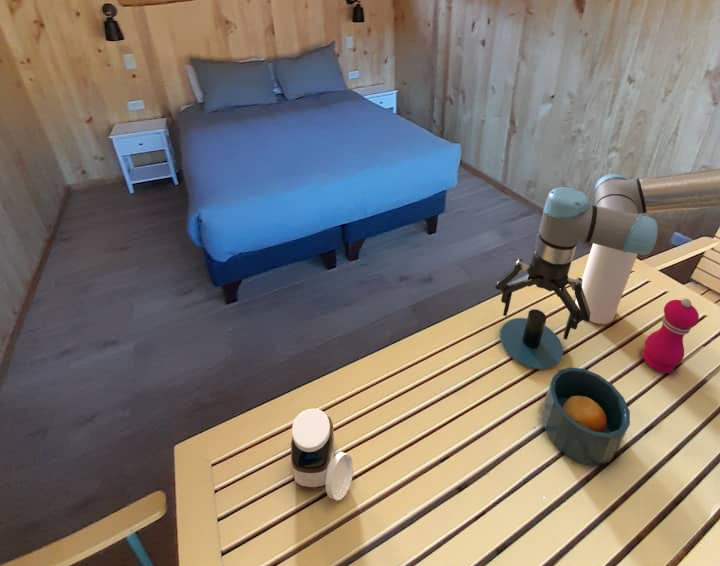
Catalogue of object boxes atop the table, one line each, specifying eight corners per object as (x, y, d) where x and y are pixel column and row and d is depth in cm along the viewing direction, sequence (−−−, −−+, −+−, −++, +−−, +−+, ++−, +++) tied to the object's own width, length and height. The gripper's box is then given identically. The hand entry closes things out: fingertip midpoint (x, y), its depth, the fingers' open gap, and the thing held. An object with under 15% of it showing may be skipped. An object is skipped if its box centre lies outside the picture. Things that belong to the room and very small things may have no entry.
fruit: (591, 461, 75) (581, 419, 75) (558, 438, 82) (549, 400, 82) (621, 443, 77) (611, 402, 78) (586, 422, 85) (577, 384, 85)
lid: (565, 335, 102) (574, 306, 97) (558, 382, 91) (567, 352, 86) (506, 312, 109) (512, 285, 104) (493, 354, 97) (498, 325, 93)
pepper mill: (633, 354, 97) (659, 293, 88) (652, 344, 99) (680, 283, 90) (663, 380, 91) (695, 317, 82) (683, 368, 93) (716, 306, 84)
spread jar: (300, 434, 82) (294, 399, 77) (355, 435, 81) (353, 400, 76) (288, 506, 71) (281, 470, 66) (352, 508, 71) (350, 472, 65)
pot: (616, 415, 84) (629, 387, 80) (615, 481, 74) (630, 452, 69) (547, 385, 90) (555, 357, 86) (536, 441, 80) (546, 412, 76)
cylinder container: (605, 330, 103) (640, 236, 89) (568, 308, 109) (595, 218, 96) (619, 310, 108) (653, 219, 95) (583, 291, 115) (610, 203, 101)
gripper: (619, 263, 84) (594, 333, 93) (498, 228, 95) (486, 293, 105) (619, 286, 78) (592, 358, 88) (490, 245, 89) (478, 313, 99)
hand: (534, 323), depth 96 cm, fingers open, 13 cm apart
